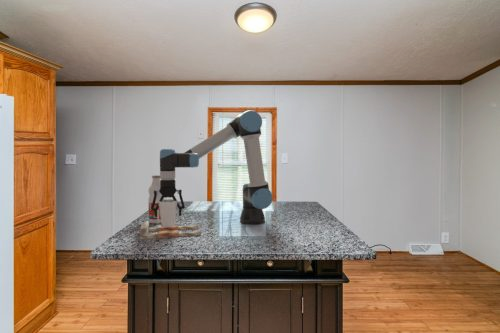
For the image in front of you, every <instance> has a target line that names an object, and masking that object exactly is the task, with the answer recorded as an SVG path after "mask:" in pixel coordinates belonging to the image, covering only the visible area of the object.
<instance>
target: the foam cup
mask: <svg viewBox="0 0 500 333" xmlns="http://www.w3.org/2000/svg"><path fill="white" fill-rule="evenodd" d="M177 201H178V200H177ZM177 201H174V200H173V198H172V199H171V198H168V199H167V198H165V200H162V202H161V201H159V209H160V215H161V222H162V223H161V227H173V226H176V218H177V209H178V207H177Z"/></svg>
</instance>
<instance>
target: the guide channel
mask: <svg viewBox="0 0 500 333" xmlns="http://www.w3.org/2000/svg"><path fill="white" fill-rule="evenodd" d="M199 227H200V225H198V224H197V225H181V226H178V225H175V226H173V227H162V226H158V227H150V223H149V221H142V223H141V225H140V228H139V240H151V239H163V238H166V239H167V238H179V237H191V236H193V237H194V236H202V232H201V231H202V230H201V231H199V230H198V229H200V228H199ZM182 230H183V231H184V230H198V231H187V232H186V231H185V232H179V231H182ZM150 232H151V233H152V232H158V233H156V234H155V233H154V234H149V233H150Z"/></svg>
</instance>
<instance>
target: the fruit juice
mask: <svg viewBox="0 0 500 333" xmlns="http://www.w3.org/2000/svg"><path fill="white" fill-rule="evenodd" d="M151 179H152V182H151V185H150V186H149V188H148V195H149V197H148V222H149V224H157V217H155V211H154V210H151V207H152V203H153V198H154V191H155V190H160V180H161V179H160V174H159V175H152V176H151ZM161 196H162V195H161V193H160V192H159V193H158V195H157V197H156V201H155V205H154V208H156V206H157V204H158V202H159V200H160V198H161ZM163 200H166V198H165V197H164V198H163ZM158 210H159V224H162V222H161V215H160V209H159V208H158Z"/></svg>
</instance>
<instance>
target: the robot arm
mask: <svg viewBox="0 0 500 333" xmlns="http://www.w3.org/2000/svg"><path fill="white" fill-rule="evenodd" d="M262 125H263V119H262V116H261V115H260V114H259V113H258V112H257V111H256V110H251V109H250V110H245V111H244V112H242V113H240V114H238V115H237V116H236V117H235V118H234V119H232V120H231V121H229V123H226V126H225V127H224V128H222V129H220V130H219V131H217V132H215V133H213V134H212V135H211V136H209V137H208V138H206V139H204V140H203V141H201V142H199V143H198V144H196V145H194V146H193V147H191V148H189V149H188V150H186V151H185V152H176V150H175V149H173V148H172V149H171V148H163V149H160V151H159V176H160V190H155V191H154V198H153V203H152V207H151V210H154V211H155V217H157V223H156V224H157V225H159V224H160V223H159V210H158V208H159V202H158V204H157V206H156V208H154V205H155V201H156V197H157V195H158V193H159V192H160V193H161V195H162V196H161V198H160V200H159V201H161V202H162V200H163V198H164V197H165V199H167V198H168V199H171V198H172V199H173V200H174V201H177V210H176V216H177V224H178V223H179V224H180V217H182V210H184V209H185V208H186V207H185V203H184V199H183V195H182V189H177V188H176V168H198V167H199V165H200V159H201V158H203V157H205V156H206V155H208V154H210V153H211V152H213V151H214V150H216V149H217V148H219V147H221V146H222V145H224V144H226V143H227V142H229V141H231V140H233V139H236V138H237V139H238V137H240V138H241V139H242V140H243V144H244V145H243V146H244V151H245V159H246V165H247V166H246V167H247V172H248V179H249V180H248V181H249V183H244V184H243V185H242V211H241V214H240V217H239V222H240V223H242V224H246V225H258V224H263V223H265V222H266V218H265V214H264V209H265V210H266V209H267V208H268V207H270V206H271V204H272V203H273V199H274V198H273V194H272V191H271V190H270V187H269V182H268V181H267V180H266V178H265V171H264V164H263V157H262V149H261V143H260V142H261V141H260V137H261V135H262V129H261V127H262ZM176 193H177V194H178V196H179V200H180V203H181V205H180V203H179V201H178V199H177V198H176V196H175V194H176Z"/></svg>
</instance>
